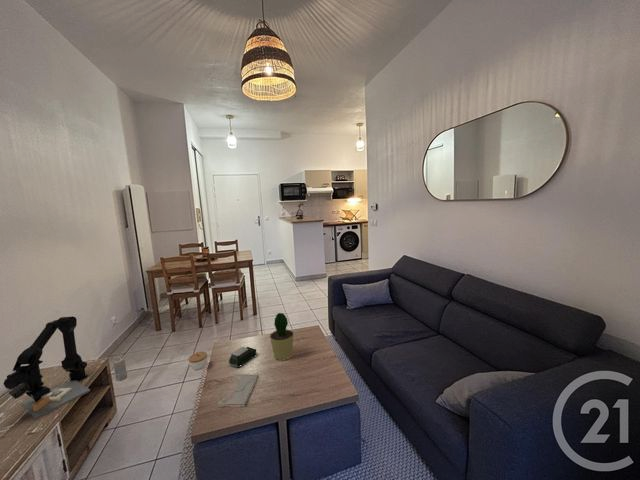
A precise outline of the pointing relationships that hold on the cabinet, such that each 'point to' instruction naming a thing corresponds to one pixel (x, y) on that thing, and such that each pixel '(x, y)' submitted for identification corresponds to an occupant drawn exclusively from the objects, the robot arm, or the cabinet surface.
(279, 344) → the potted cactus
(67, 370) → the robot arm
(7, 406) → the cabinet surface
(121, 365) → the energy drink
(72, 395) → the slate board
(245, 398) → the envelope
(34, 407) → the brown white angular piece
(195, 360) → the lidded jar
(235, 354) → the miniature car
